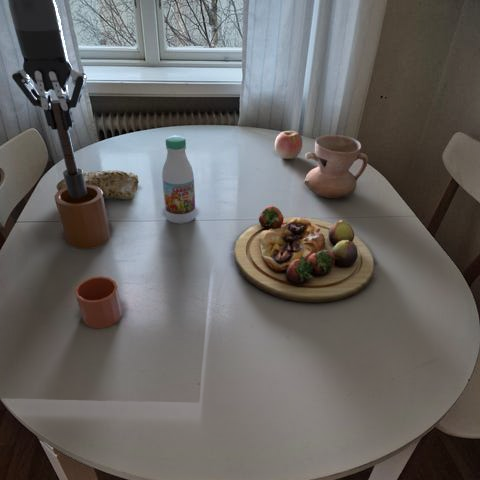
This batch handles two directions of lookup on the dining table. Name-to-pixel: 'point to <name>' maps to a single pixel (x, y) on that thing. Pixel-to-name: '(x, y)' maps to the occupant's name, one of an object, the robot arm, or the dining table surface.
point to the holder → (99, 302)
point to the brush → (68, 156)
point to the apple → (288, 144)
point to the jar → (83, 218)
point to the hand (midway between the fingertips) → (62, 128)
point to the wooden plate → (303, 258)
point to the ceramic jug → (334, 166)
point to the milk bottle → (178, 182)
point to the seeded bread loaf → (110, 183)
